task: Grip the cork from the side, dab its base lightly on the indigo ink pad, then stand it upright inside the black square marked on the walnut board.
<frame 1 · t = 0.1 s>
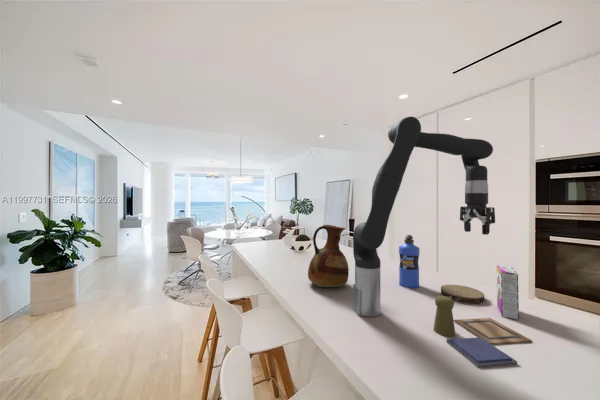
hand: (476, 233, 96), 29 cm above the kitchen island, tool pointing down, fingers open, 8 cm apart
ink pad: (479, 352, 66), on the kitchen island
tan flat ringed disc: (461, 298, 106), on the kitchen island
ceramic pitcher: (328, 285, 121), on the kitchen island
marked board: (489, 330, 78), on the kitchen island
cork: (444, 332, 77), on the kitchen island
water bottle: (409, 285, 120), on the kitchen island
candy bar box: (506, 313, 91), on the kitchen island
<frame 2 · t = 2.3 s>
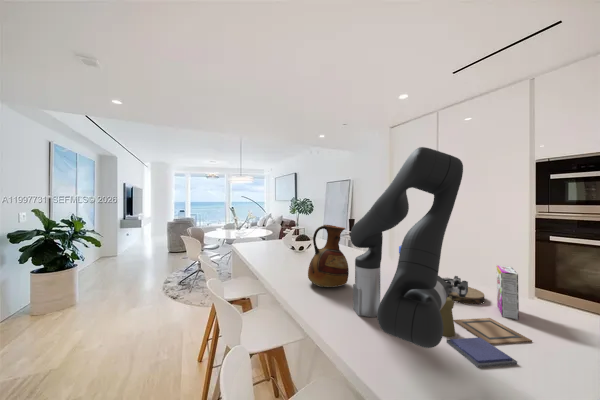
hand: (438, 276, 69), 20 cm above the kitchen island, tool horizontal, fingers open, 8 cm apart
nothing on the kitchen island moved.
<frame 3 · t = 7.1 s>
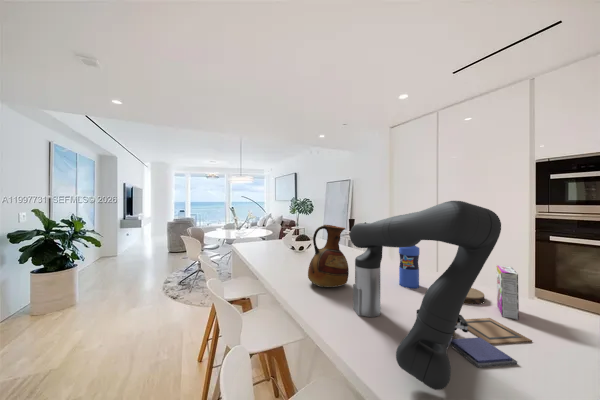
hand: (445, 309, 79), 6 cm above the kitchen island, tool horizontal, fingers closed on cork, 3 cm apart
cork: (444, 332, 77), on the kitchen island, touching gripper
everything else where it was.
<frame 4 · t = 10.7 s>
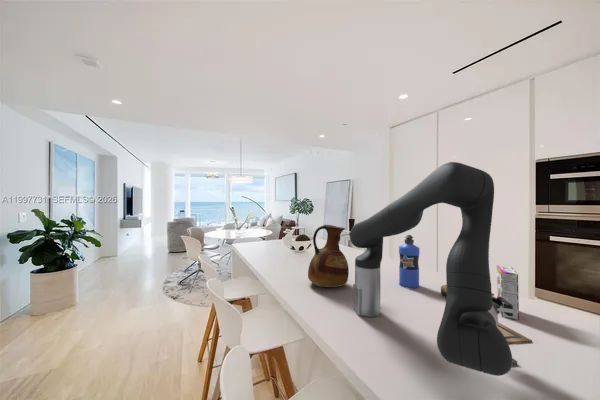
hand: (479, 293, 69), 16 cm above the kitchen island, tool horizontal, fingers closed on cork, 3 cm apart
cork: (479, 318, 66), point 9 cm above the kitchen island, touching gripper
everything else where it was.
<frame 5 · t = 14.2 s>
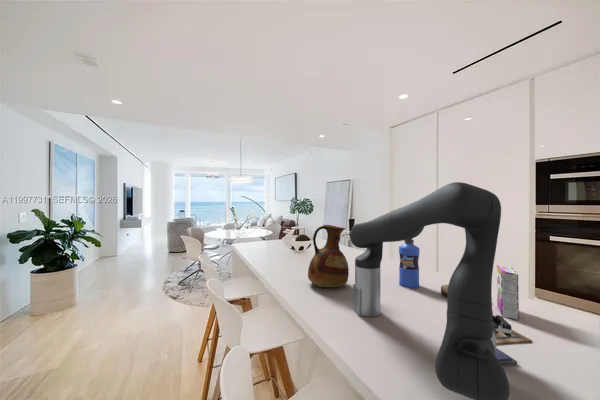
hand: (478, 309, 69), 11 cm above the kitchen island, tool horizontal, fingers closed on cork, 3 cm apart
cork: (478, 335, 67), point 4 cm above the kitchen island, touching gripper
everything else where it was.
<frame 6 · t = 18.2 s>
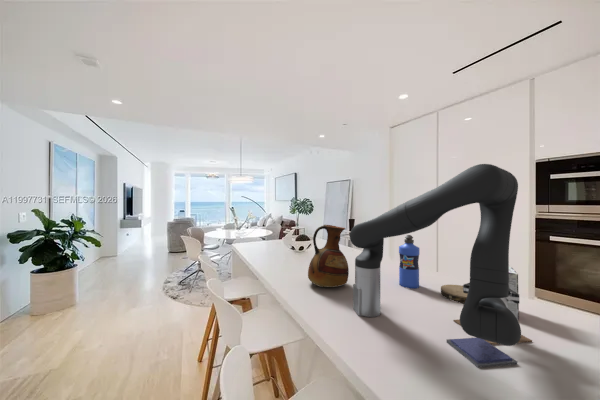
hand: (489, 285, 80), 14 cm above the kitchen island, tool horizontal, fingers closed on cork, 3 cm apart
cork: (490, 307, 77), point 8 cm above the kitchen island, touching gripper
everything else where it was.
when the fingers open (7 cm above the kitchen island, at t = 21.5 s): cork stays where it is, resting on marked board.
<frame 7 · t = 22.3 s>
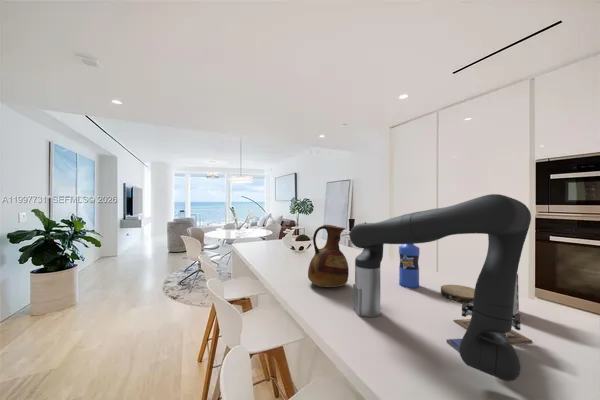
hand: (489, 307, 79), 7 cm above the kitchen island, tool horizontal, fingers open, 8 cm apart
cork: (489, 330, 78), resting on marked board
everything else where it was.
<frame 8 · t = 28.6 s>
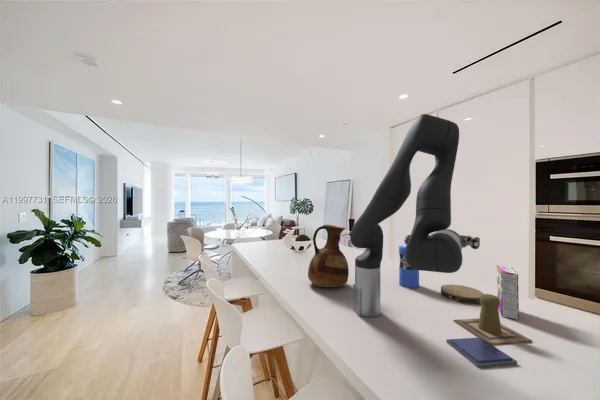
hand: (452, 237, 77), 30 cm above the kitchen island, tool horizontal, fingers open, 8 cm apart
nothing on the kitchen island moved.
at the end: cork 0.1 cm off-centre on the marked board, point 0.3 cm above the marked board's base; cork tilted 0°; the gripper is holding nothing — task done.
